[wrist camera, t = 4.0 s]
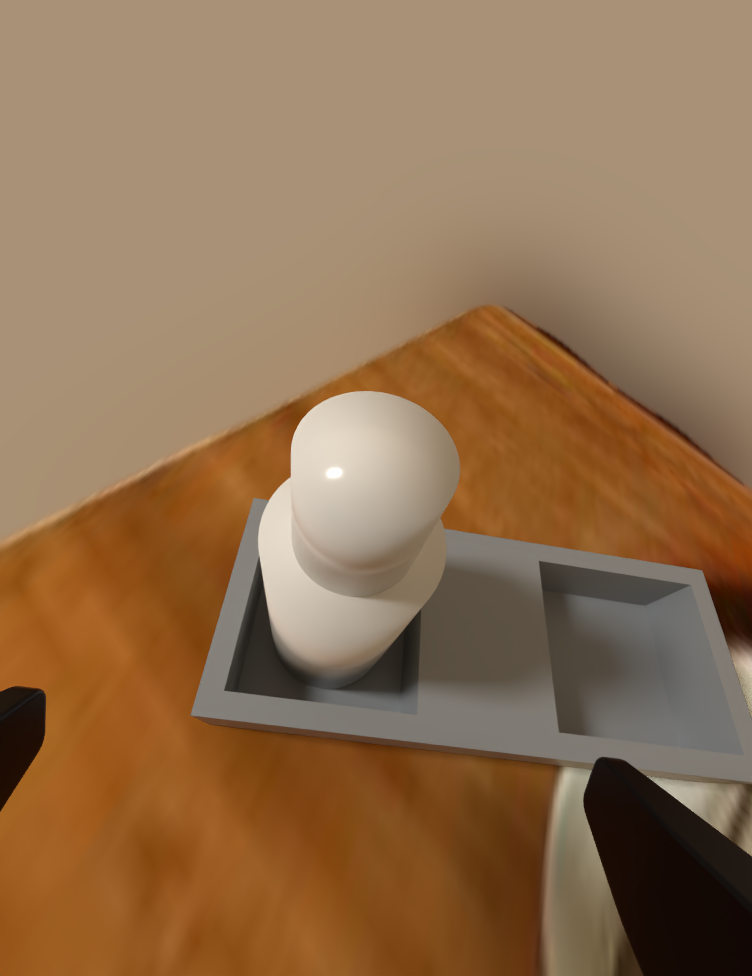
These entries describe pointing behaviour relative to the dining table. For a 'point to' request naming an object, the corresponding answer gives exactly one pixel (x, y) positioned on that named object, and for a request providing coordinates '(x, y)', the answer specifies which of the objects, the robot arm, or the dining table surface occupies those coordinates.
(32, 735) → the robot arm
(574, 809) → the dining table surface
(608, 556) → the caddy
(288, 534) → the white stepped cylinder
